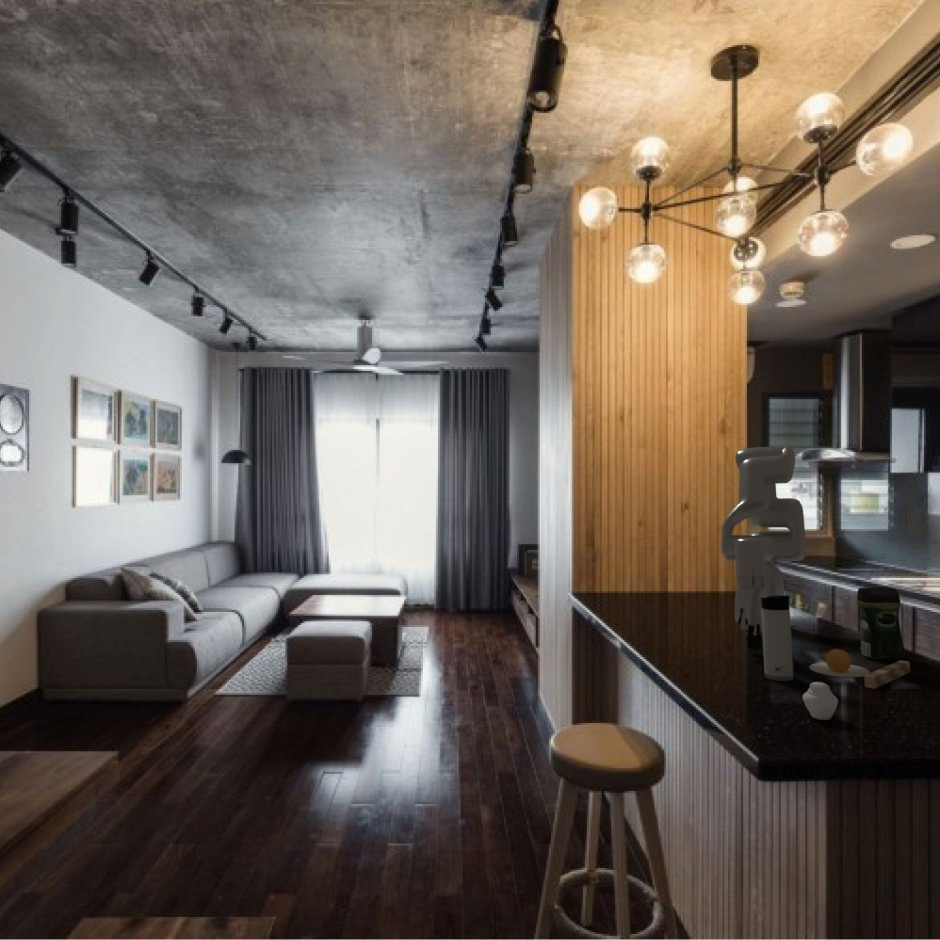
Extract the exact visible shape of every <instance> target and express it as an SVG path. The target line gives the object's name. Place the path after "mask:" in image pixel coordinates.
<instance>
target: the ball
mask: <svg viewBox="0 0 940 940" xmlns="http://www.w3.org/2000/svg"><path fill="white" fill-rule="evenodd" d="M825 662H826V663H827V665H828V667H829V668H830V669H831V670H833V671H835V672H845V671H847V670H848V669H849V668H850V666H851V665H852V659H851V657H850V655H849V654H848V652H847V651H845V650H843V649H840V648H835V649H831V650H829V651H828V652H827V653H826V655H825Z"/></svg>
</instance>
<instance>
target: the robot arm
mask: <svg viewBox="0 0 940 940" xmlns="http://www.w3.org/2000/svg"><path fill="white" fill-rule="evenodd" d="M734 457H735V460H734V461H735V464H736V466H737V469H738V471H739V479H738V481H739V482H738V484H739V485H738V503H737V504H736V505H735V506H734V507H733V508H731V510H730V511H729V513H727V515H726V517H725V518H724V520H723V523H722V527H721V540H720V543H721V545H720V547H721V548H720V549H721V553H722V556H723V558H724V559H725V560H728V561H733V562H735V572H736V573H735V574H736V589H735V595H734V596H735V597H734V598H735V599H734V622H735V623H736V624H740V629H741V630H744V631H745V634H746V639H747V648H748V649H750V650H755V651H759V650H762V649H763V643H762V635H763V633H762V613H761V611H762V610H761V605H762V604H761V597H763V598H767V596H785V594H784V593H785V592H784V591H785V588H784V576H783V573H782V571H781V569H780V568H779V567H778V566H777V564H775V563H774V562H800V561H803V560H804V559H805V557H806V554H807V542H806V541H807V540H806V530H805V529H806V528H805V515H804V509H803V505H802V503H801V501H800V500H799V499H797V498H793V497H792V498H791V497H789V498H788V497H785V498H784V497H781V498H779V497H778V496H777V484H788V483H790V482H791V481H792V480H793V479H792V478H793V476H794V471H795V466H796V454H795V451H794V450H793V448H792V446H791V447H790V446H787V445H776V446H760V447H759V446H758V447H749V448H748V447H747V448H742V449H740V450H739V449H738V450H737V452H736V453H735V455H734ZM748 518H749V519H750V520H749V521H750V523H751V525H753V527H757V528H769V529H771V528H786V529H787V530H788V531H771V530H770V531H762V530H761V531H755V532H752V533H750V534H735V535H733V532H734V529H735V527H737V525H738V524H740V523H742V522H743V521H745V520H747V519H748Z"/></svg>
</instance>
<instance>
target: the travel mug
mask: <svg viewBox="0 0 940 940" xmlns="http://www.w3.org/2000/svg"><path fill="white" fill-rule="evenodd" d="M761 604H762V605H761V610H762V611H761V613H762V649H763V650H762V651H763V665H764V677H765V678H766V679H768V680H770V681H771V680H772V681H775V682H789V681H792V680H794V663H793V662H794V661H793V647H792V646H793V644H792V643H793V642H792V625H791V613H790V612H791V607H790V595H787V594H786V595H785V594H784V596H767V598H763V597H761Z"/></svg>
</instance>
